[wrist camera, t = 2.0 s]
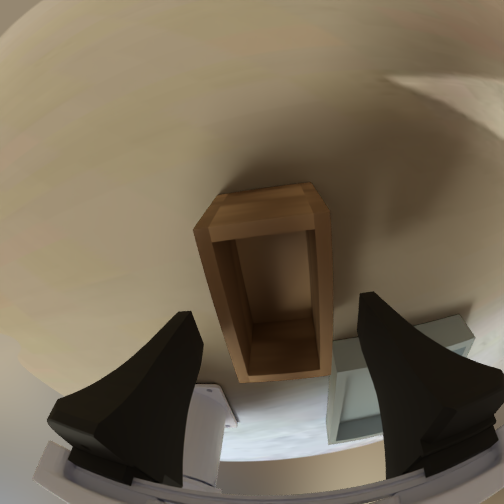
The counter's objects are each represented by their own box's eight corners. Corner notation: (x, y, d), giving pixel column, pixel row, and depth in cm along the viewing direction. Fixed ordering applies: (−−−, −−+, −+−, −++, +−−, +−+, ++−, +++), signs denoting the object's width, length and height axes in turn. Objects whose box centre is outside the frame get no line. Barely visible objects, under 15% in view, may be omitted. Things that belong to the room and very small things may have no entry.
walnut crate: (246, 324, 18) (239, 382, 14) (217, 195, 14) (192, 229, 10) (320, 317, 18) (331, 374, 13) (310, 182, 14) (330, 211, 9)
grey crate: (325, 421, 24) (328, 444, 22) (330, 341, 19) (336, 372, 16) (422, 400, 23) (429, 420, 20) (459, 314, 17) (475, 337, 14)
